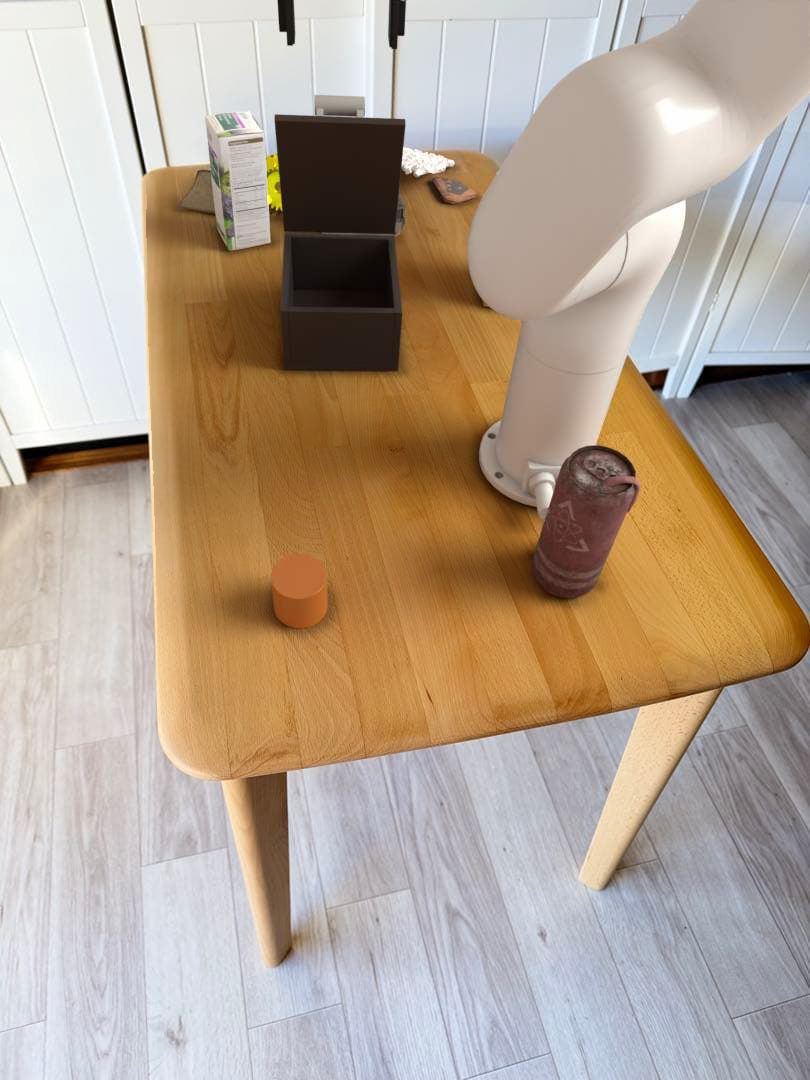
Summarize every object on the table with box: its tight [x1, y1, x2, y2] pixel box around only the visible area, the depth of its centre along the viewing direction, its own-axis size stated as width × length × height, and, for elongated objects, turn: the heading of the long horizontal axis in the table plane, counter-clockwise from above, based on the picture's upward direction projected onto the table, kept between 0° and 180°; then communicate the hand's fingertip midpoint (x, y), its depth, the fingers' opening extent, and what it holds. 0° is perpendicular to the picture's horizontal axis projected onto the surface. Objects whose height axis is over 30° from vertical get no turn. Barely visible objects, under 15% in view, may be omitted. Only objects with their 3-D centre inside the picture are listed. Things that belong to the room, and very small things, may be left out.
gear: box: [266, 153, 283, 218], centre depth 107 cm, size 8×4×8 cm
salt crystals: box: [401, 146, 456, 179], centre depth 114 cm, size 20×20×2 cm
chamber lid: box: [274, 94, 407, 234], centre depth 86 cm, size 15×13×5 cm
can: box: [531, 444, 642, 599], centre depth 69 cm, size 6×6×14 cm
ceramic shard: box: [178, 169, 216, 215], centre depth 107 cm, size 10×5×2 cm
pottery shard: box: [431, 176, 478, 205], centre depth 115 cm, size 7×1×5 cm
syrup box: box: [204, 110, 272, 252], centre depth 100 cm, size 6×6×14 cm
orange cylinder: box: [270, 553, 329, 629], centre depth 69 cm, size 5×5×4 cm
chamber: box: [279, 232, 403, 372], centre depth 92 cm, size 15×13×8 cm
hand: (342, 42), depth 77 cm, fingers open, 9 cm apart
